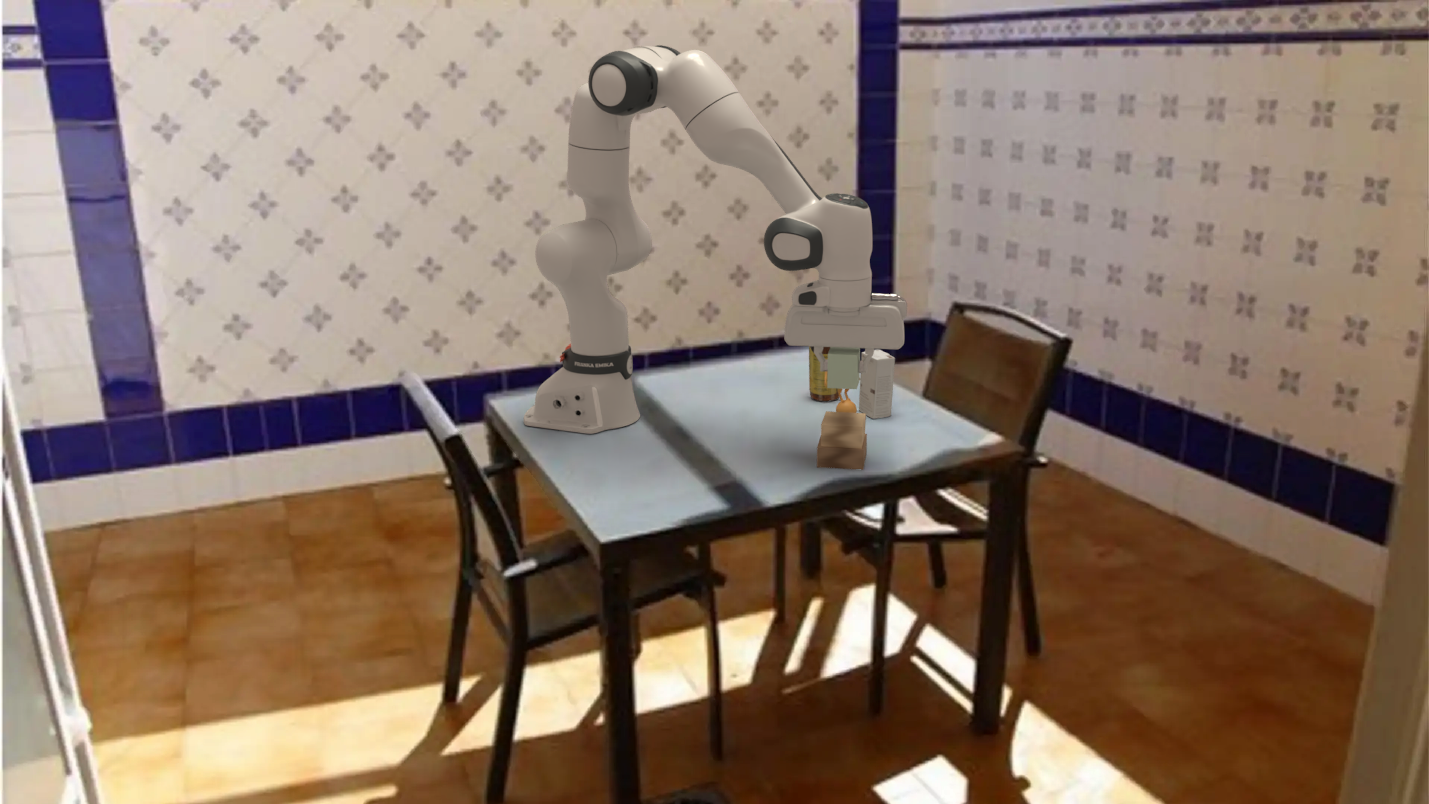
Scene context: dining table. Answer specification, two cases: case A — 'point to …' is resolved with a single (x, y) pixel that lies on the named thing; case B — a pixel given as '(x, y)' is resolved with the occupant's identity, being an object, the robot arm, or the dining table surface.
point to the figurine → (844, 401)
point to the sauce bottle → (819, 378)
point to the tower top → (843, 429)
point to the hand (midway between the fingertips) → (843, 371)
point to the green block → (843, 368)
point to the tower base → (841, 456)
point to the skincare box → (877, 385)
